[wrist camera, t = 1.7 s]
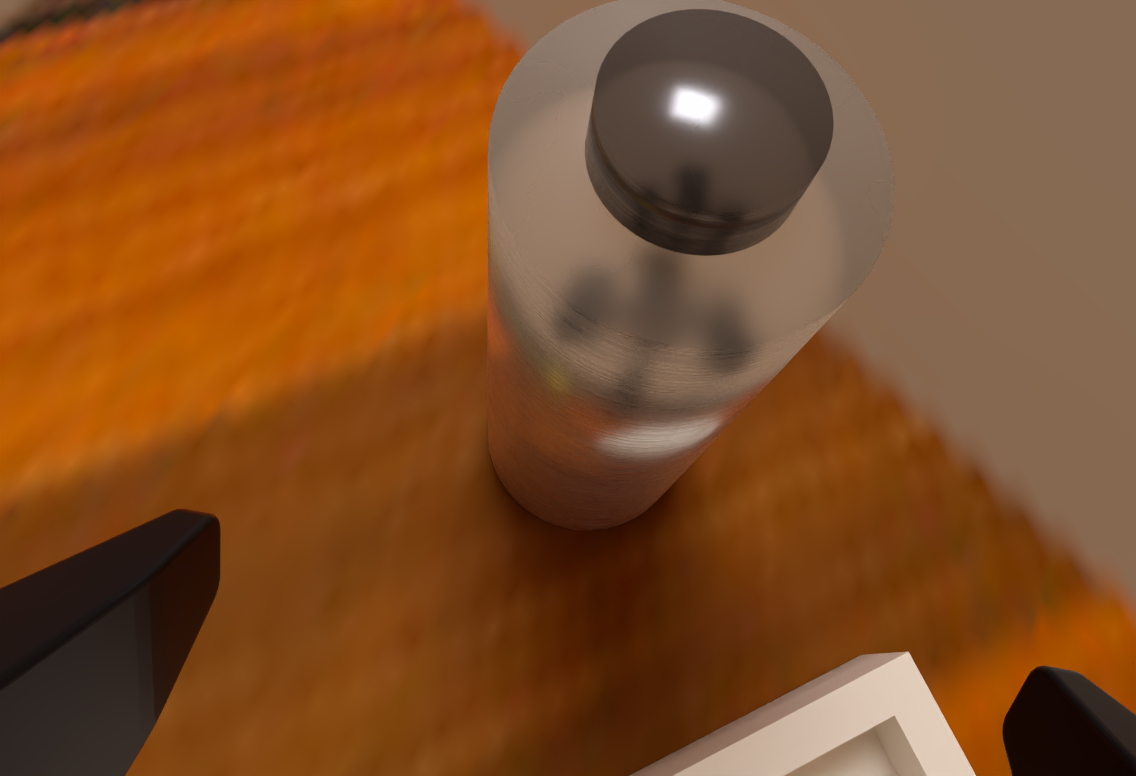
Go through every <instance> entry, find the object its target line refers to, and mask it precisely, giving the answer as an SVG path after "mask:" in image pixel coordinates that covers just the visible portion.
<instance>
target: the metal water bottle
mask: <svg viewBox="0 0 1136 776" xmlns="http://www.w3.org/2000/svg"><path fill="white" fill-rule="evenodd" d="M893 208H894V177H893V168H892V161H891V157H890V154H889V150H888V146H887V142H886V139H885V136H884V134H883V131H882V129H881V127H880V124H879V122H878V119H877V117H876V115H875V114H874V112H873V110H872V109H871V107H870V105H869V103H868V101H867V100H866V98H865V96H864V95H863V94H862V92H861V91H860V90H859V88H858V87H857V86H856V84H855V83H854V82H853V80H852V79H851V78H850V77H849V76H848V75H847V73H846V72H845V71H844V70H843V69H842V68H841V67H840V66H839V65H838V64H837V63H836V62H835V61H834V60H833V59H832V58H831V57H829V56H828V55H827V54H826V53H825V52H824V51H823V50H821V49H820V48H819V47H818V46H817V45H816V44H814V43H813V42H811V41H810V40H808V39H807V38H805V37H804V36H803V35H801V34H800V33H798V32H797V31H795V30H793V29H791V28H790V27H788V26H786V25H784V24H782V23H780V22H779V21H777V20H775V19H773V18H771V17H768V16H766V15H763V14H761V13H759V12H756V11H754V10H751V9H748V8H745V7H742V6H739V5H735V4H732V3H729V2H725V1H720V0H618V1H615V2H610V3H606V4H603V5H601V6H598V7H595V8H592V9H589V10H587V11H584V12H583V13H580V14H579V15H577V16H574V17H573V18H571V19H569V20H567V21H565V22H563V23H562V24H560V25H559V26H558V27H556V28H554V29H553V30H551V31H550V32H549V33H547V34H546V35H545V36H543V38H541V39H540V40H539V41H538V42H537V43H536V44H535V45H534V46H532V47H531V48H530V49H529V50H528V51H527V53H526V54H525V55H524V56H523V58H522V59H521V60H520V61H519V62H518V64H517V65H516V66H515V67H514V69H513V71H512V72H511V74H510V76H509V77H508V79H507V81H506V82H505V84H504V86H503V88H502V91H501V93H500V96H499V98H498V100H497V103H496V105H495V109H494V113H493V117H492V121H491V126H490V133H489V146H488V447H489V451H490V456H491V460H492V463H493V466H494V468H495V471H496V473H497V475H498V477H499V479H500V481H501V483H502V484H503V485H504V487H505V488H506V490H507V491H508V493H509V494H510V495H511V496H512V497H513V498H514V499H515V500H516V501H517V502H518V503H519V504H520V505H521V506H522V507H524V508H525V509H526V510H527V511H529V512H530V513H532V514H533V515H535V516H536V517H538V518H540V519H542V520H544V521H546V522H548V523H551V524H554V525H557V526H560V527H563V528H569V529H574V530H601V529H607V528H611V527H615V526H618V525H621V524H624V523H626V522H628V521H630V520H632V519H634V518H636V517H638V516H639V515H641V514H642V513H644V512H645V511H646V510H648V509H649V508H650V507H651V506H652V505H653V504H654V503H655V502H656V501H657V500H658V499H659V498H660V497H661V496H662V495H663V494H664V493H665V492H666V491H667V490H668V489H669V488H670V487H671V486H672V485H673V484H674V482H675V481H676V480H677V479H678V478H679V477H680V476H681V475H682V474H683V473H684V472H685V471H686V470H687V469H688V468H689V467H690V466H691V464H692V463H693V462H694V461H695V460H696V459H697V458H698V457H699V456H700V455H701V454H702V453H703V452H704V451H705V450H706V449H707V448H708V446H709V445H710V444H711V443H712V442H713V441H714V440H715V439H716V438H717V437H718V436H719V435H720V434H721V433H722V432H723V431H724V430H725V428H726V427H727V426H728V425H729V424H730V423H731V422H732V421H733V420H734V419H735V418H736V417H737V416H738V415H739V414H740V413H741V412H742V410H743V409H744V408H745V407H746V406H747V405H748V404H749V403H750V402H751V401H752V400H753V399H754V398H755V397H756V396H757V395H758V394H759V392H760V391H761V390H762V389H763V388H764V387H765V386H766V385H767V384H768V383H769V382H770V381H771V380H772V379H773V378H774V377H775V376H776V374H777V373H778V372H779V371H780V370H781V369H782V368H783V367H784V366H785V365H786V364H787V363H788V362H789V361H790V360H791V359H792V358H793V356H794V355H795V354H796V353H797V352H798V351H799V350H800V349H801V348H802V347H803V346H804V345H805V344H806V343H807V342H808V341H809V340H810V339H811V337H812V336H813V335H814V334H815V333H816V332H817V331H818V330H819V329H820V328H821V327H822V326H823V325H824V324H825V323H826V322H827V321H828V319H829V318H830V317H831V316H832V315H833V314H834V313H835V312H836V311H837V310H838V309H839V308H840V307H841V306H842V305H843V304H844V302H845V301H846V300H847V299H848V298H849V297H850V296H851V295H852V294H853V293H854V292H855V291H856V290H857V288H858V287H859V286H860V285H861V283H862V282H863V281H864V279H865V278H866V277H867V276H868V274H869V273H870V272H871V270H872V268H873V266H874V264H875V263H876V261H877V259H878V257H879V255H880V253H881V252H882V249H883V246H884V244H885V241H886V238H887V235H888V232H889V229H890V224H891V219H892V213H893Z"/></svg>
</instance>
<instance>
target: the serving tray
mask: <svg viewBox="0 0 1136 776" xmlns="http://www.w3.org/2000/svg"><path fill="white" fill-rule="evenodd" d="M629 776H976V775H975V773H974V771H973V769H972V768H971V766H970V764H969V762H968V760H967V758H966V757H965V755H964V753H963V751H962V749H961V747H960V746H959V744H958V742H957V740H956V738H955V736H954V735H953V733H952V731H951V729H950V727H949V725H948V724H947V722H946V720H945V718H944V716H943V714H942V713H941V711H940V709H939V707H938V705H937V703H936V702H935V700H934V698H933V696H932V694H931V692H930V690H929V689H928V687H927V685H926V683H925V681H924V679H923V678H922V676H921V674H920V672H919V670H918V668H917V667H916V665H915V663H914V661H913V659H912V657H911V656H910V654H909V652H897V653H883V654H868V655H860V656H858V657H856V658H854V659H853V660H851V661H849V662H847V663H845V664H843V665H841V666H839V667H837V668H835V669H833V670H831V671H829V672H828V673H826V674H824V675H822V676H820V677H818V678H816V679H814V680H812V681H810V682H808V683H806V684H804V685H802V686H801V687H799V688H797V689H795V690H793V691H791V692H789V693H787V694H785V695H783V696H781V697H779V698H777V699H776V700H774V701H772V702H770V703H768V704H766V705H764V706H762V707H760V708H758V709H756V710H754V711H752V712H751V713H749V714H747V715H745V716H743V717H741V718H739V719H737V720H735V721H733V722H731V723H729V724H727V725H725V726H724V727H722V728H720V729H718V730H716V731H714V732H712V733H710V734H708V735H706V736H704V737H702V738H700V739H699V740H697V741H695V742H693V743H691V744H689V745H687V746H685V747H683V748H681V749H679V750H677V751H675V752H674V753H672V754H670V755H668V756H666V757H664V758H662V759H660V760H658V761H656V762H654V763H652V764H650V765H648V766H647V767H645V768H643V769H641V770H639V771H637V772H635V773H633V774H631V775H629Z"/></svg>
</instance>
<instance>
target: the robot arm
mask: <svg viewBox="0 0 1136 776" xmlns="http://www.w3.org/2000/svg"><path fill="white" fill-rule="evenodd" d="M219 581H220V523H219V520H218V518H217V517H216V516H215V515H214V514H210V513H205V512H200V511H194V510H189V509H176V510H173V511H171V512H168V513H166V514H164V515H162V516H160V517H157V518H155V519H153V520H151V521H148V522H146V523H144V524H142V525H140V526H137V527H135V528H133V529H131V530H129V531H126V532H124V533H122V534H120V535H117V536H115V537H113V538H111V539H109V540H106V541H104V542H102V543H100V544H98V545H95V546H93V547H91V548H89V549H86V550H84V551H82V552H80V553H78V554H75V555H73V556H71V557H69V558H67V559H64V560H62V561H60V562H58V563H55V564H53V565H51V566H49V567H47V568H44V569H42V570H40V571H38V572H35V573H33V574H31V575H29V576H27V577H24V578H22V579H20V580H18V581H16V582H13V583H11V584H9V585H7V586H4V587H2V588H0V776H125V775H126V773H127V771H128V770H129V768H130V766H131V765H132V763H133V761H134V760H135V758H136V756H137V755H138V753H139V752H140V750H141V748H142V747H143V745H144V743H145V741H146V740H147V738H148V736H149V734H150V733H151V731H152V729H153V727H154V726H155V724H156V722H157V720H158V718H159V716H160V714H161V712H162V710H163V708H164V706H165V704H166V702H167V699H168V697H169V695H170V693H171V691H172V689H173V687H174V684H175V682H176V680H177V678H178V676H179V674H180V672H181V669H182V667H183V665H184V663H185V661H186V659H187V657H188V654H189V652H190V650H191V648H192V646H193V644H194V642H195V639H196V637H197V635H198V633H199V631H200V629H201V627H202V624H203V622H204V620H205V618H206V616H207V614H208V612H209V610H210V607H211V605H212V603H213V601H214V599H215V596H216V593H217V590H218V586H219ZM1002 732H1003V742H1004V746H1005V750H1006V754H1007V758H1008V762H1009V766H1010V770H1011V773H1012V776H1136V715H1135V714H1134V713H1132V712H1131V711H1130V710H1128V709H1127V708H1126V707H1124V706H1123V705H1122V704H1120V703H1119V702H1118V701H1116V700H1115V699H1114V698H1112V697H1111V696H1110V695H1108V694H1107V693H1106V692H1104V691H1103V690H1102V689H1100V688H1099V687H1098V686H1096V685H1095V684H1094V683H1092V682H1091V681H1090V680H1088V679H1087V678H1085V677H1084V676H1083V675H1081V674H1079V673H1077V672H1074V671H1071V670H1065V669H1060V668H1054V667H1049V666H1040V667H1037V668H1035V669H1034V670H1032V671H1031V673H1030V674H1029V675H1028V677H1027V679H1026V681H1025V682H1024V684H1023V686H1022V688H1021V690H1020V691H1019V693H1018V695H1017V697H1016V698H1015V700H1014V702H1013V704H1012V705H1011V707H1010V709H1009V711H1008V712H1007V714H1006V716H1005V719H1004V723H1003V731H1002Z"/></svg>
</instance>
